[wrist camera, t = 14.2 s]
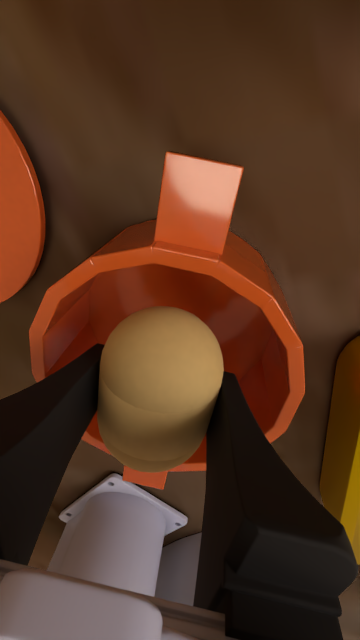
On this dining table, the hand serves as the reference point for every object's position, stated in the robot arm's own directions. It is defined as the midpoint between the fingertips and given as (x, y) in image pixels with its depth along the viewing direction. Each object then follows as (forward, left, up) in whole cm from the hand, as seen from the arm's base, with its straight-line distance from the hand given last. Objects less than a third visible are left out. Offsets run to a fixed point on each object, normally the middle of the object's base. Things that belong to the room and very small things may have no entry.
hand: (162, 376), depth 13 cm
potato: (0, 0, -1) cm, 1 cm away
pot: (0, 0, -5) cm, 5 cm away
